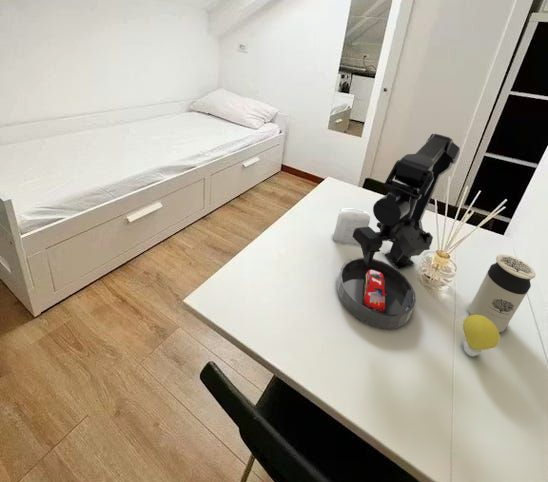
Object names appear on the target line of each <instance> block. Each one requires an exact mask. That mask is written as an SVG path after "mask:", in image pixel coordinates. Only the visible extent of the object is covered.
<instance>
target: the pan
mask: <svg viewBox="0 0 548 482" xmlns="http://www.w3.org/2000/svg"><path fill="white" fill-rule="evenodd" d="M369 270H375V271H378V272H381V273H382V274H383V276H384V281H385V294H387V295H385V310H384V312H383V313H379V312H376V311H373V310H371V309H369V308H367V307H365V306H364V305H363V301H364V281H365V276H366V273H367V272H368V271H369ZM336 291H337V295H338V299H339V300H340V303H341V304H342V305H343V307H344V308H345V309H346V310H347V312H349V314H350V315H352V316H353V317H354V318H356V319H357V320H359V321H360V322H362V323H364V324H365V325H368V326H370V327H373V328H377V329H380V330H394V329H398V328H400V327H403V326H404V325H405V324H406V323H407V322H408V321H409V319H410V318H411V315H412V313H413V311H414V308H415V305H416V301H417V298H416V297H417V296H416V292H415V290H414V287H413V285H412V283H411V282H410V281H409V280H408V277H406V276H405V275H404V274H403V273H401V271H399V270H398V268H395V267H394V266H392V265H390V264H388V263H386V262H385V261H382V260H378V259H375V258H373V259H372V261H371V263H370V265H369V267H367V266H366V265H365V263H364V258H363V257H355V258H352V259H349V260H348V261H346V262H345V263H344V264H343V265H342V267H340V270H339V276H338V279H337V284H336Z"/></svg>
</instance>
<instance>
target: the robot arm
mask: <svg viewBox="0 0 548 482" xmlns="http://www.w3.org/2000/svg"><path fill="white" fill-rule="evenodd" d="M460 152H461V148H460V147H459V145H457V144H456V143H454V141H453V139H452V138H451V137H449V136H447V135H443V134H439V133H432V134H430V136H429V137H428V138H427V140H426V142H425V143H424V144H423V145H422V147H420V149H418V151H416V153H407V154H405V155H403V156H402V157H401V158H400V159H398V160H396V161H395V163H394V164H393V167H392V169H391V171H390V172H389V174H388V176H387V177H386V179H385V182H384V183H383V187H386V188H389V191H388V192H387V194H386V195H384V196H383V197H380V198H379V199H378V200H376V202H375V203H374V204H373V207H372V212H373V216H374V217H375V219H376V220H377V223H376V228H378V229H379V231H377V232H376V231H375V230H373V228H371V227H370V226H368V227H360V228H356V229H355V230H354V233H353V236H352V237H353V238H354V239H355V240H356V241H357V242H358V243H359V244H360V245H359V246H360V248H361V252H362V258H364V263H365V265H366V266H367V267H369V265H370V263H371V261H372V259H374V256H375V254H376V253H380V252H381V248H382V246H383V243H384V242H390V243H392V245H391V248H390V249H389V252H386V253H384V257H385V258H386V259H388V261H389V262H391V263H392V264H393V265H394V266H395V267H396V269H397V270H398V269H399V270H401V269H405V268H408V267H411V266H413V265H414V264H415V263H414V261H413V260H411V258H412V257H415V256H420V255H421V254H422V253H423V252H424V251H429V250H430V249H431V245H432V242H433V239H434V237H433V235H432V234H431V233H430V232H427V231H425V230H424V228H423V222H422V220H423V217H424V215H425V213H426V210H427V209H428V207H429V204H430V201H431V199H432V198H433V194H434V192H435V190H436V187H437V185H438V183H439V181H440V178H441V176H442V175H444V174H445V173H446V172H448V171H450V170H451V169H452V167H453V165H455V164H456V163H457V161H458V159H459V157H460Z"/></svg>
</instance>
